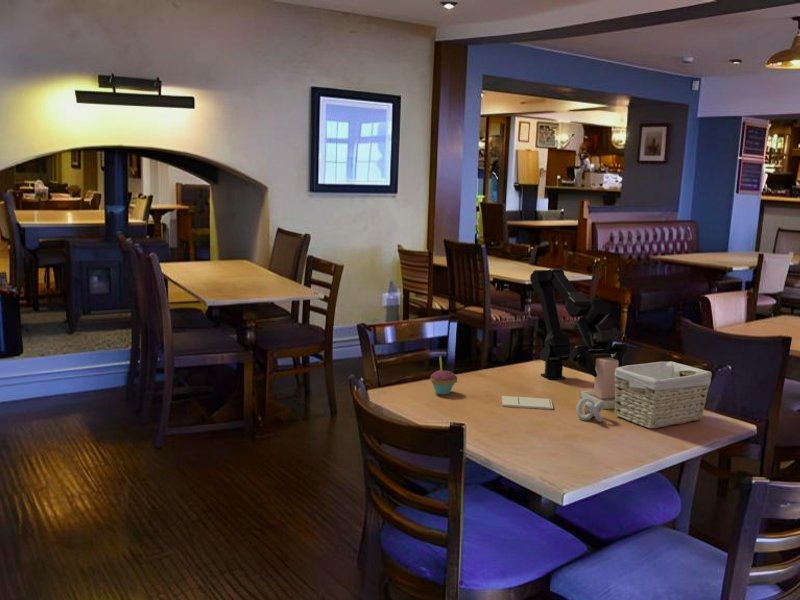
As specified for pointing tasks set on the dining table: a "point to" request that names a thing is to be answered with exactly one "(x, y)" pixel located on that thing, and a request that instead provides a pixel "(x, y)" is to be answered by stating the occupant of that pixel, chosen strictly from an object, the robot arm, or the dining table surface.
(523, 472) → the dining table surface
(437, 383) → the cupcake
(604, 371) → the pinkish tall block
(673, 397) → the storage basket
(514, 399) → the ticket book
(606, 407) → the bill dish
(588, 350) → the robot arm
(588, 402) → the knot
